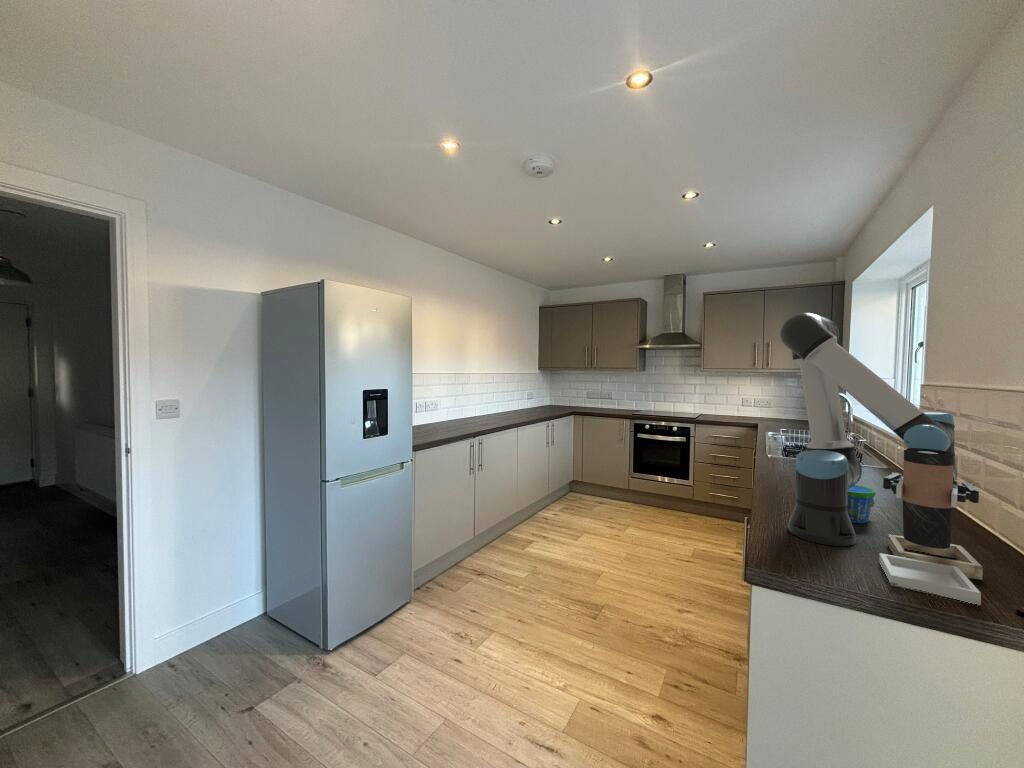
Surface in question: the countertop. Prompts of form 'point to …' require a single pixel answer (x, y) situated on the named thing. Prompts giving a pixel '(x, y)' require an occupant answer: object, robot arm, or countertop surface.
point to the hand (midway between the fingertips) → (925, 496)
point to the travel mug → (927, 497)
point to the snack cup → (860, 503)
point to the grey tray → (929, 578)
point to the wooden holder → (955, 551)
